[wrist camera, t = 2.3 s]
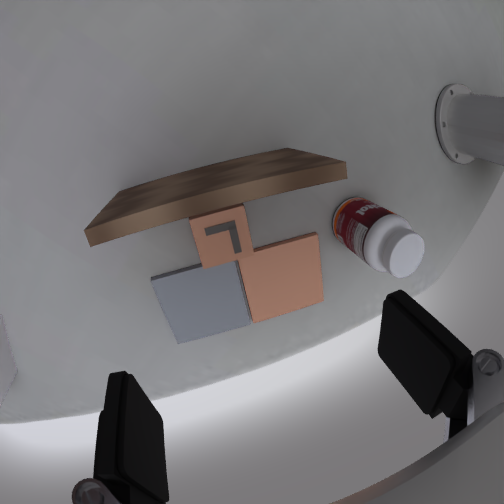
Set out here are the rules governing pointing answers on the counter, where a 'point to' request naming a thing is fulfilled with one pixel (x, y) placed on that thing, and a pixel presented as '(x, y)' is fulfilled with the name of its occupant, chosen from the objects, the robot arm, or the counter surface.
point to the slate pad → (201, 300)
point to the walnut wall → (211, 190)
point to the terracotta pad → (283, 277)
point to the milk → (5, 362)
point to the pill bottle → (378, 237)
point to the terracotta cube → (222, 235)
